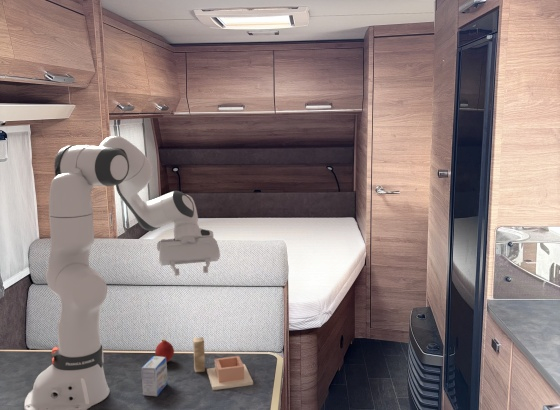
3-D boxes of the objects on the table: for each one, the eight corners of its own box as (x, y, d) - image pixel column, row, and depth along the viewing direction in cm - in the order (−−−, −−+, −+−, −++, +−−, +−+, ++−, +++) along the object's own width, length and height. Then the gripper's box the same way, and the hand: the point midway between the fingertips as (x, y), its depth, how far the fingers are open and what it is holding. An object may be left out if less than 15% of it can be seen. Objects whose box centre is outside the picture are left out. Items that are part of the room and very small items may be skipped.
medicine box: (157, 397, 161) (155, 368, 159) (142, 395, 162) (140, 367, 160) (167, 383, 168) (166, 356, 167) (153, 382, 169) (152, 355, 168)
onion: (167, 356, 186) (166, 334, 185) (177, 362, 182) (177, 338, 181) (152, 362, 182) (151, 339, 181) (162, 368, 178) (161, 344, 177)
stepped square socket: (212, 390, 164) (212, 374, 164) (206, 371, 176) (206, 356, 175) (253, 384, 168) (252, 368, 167) (244, 366, 179) (244, 352, 178)
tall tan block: (195, 372, 175) (194, 342, 174) (194, 368, 178) (193, 338, 176) (205, 371, 176) (204, 341, 174) (203, 367, 179) (202, 337, 177)
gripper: (156, 235, 189) (159, 271, 182) (217, 230, 194) (222, 266, 187) (156, 244, 194) (159, 280, 187) (215, 240, 199) (221, 275, 192)
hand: (191, 273), depth 187 cm, fingers open, 8 cm apart
